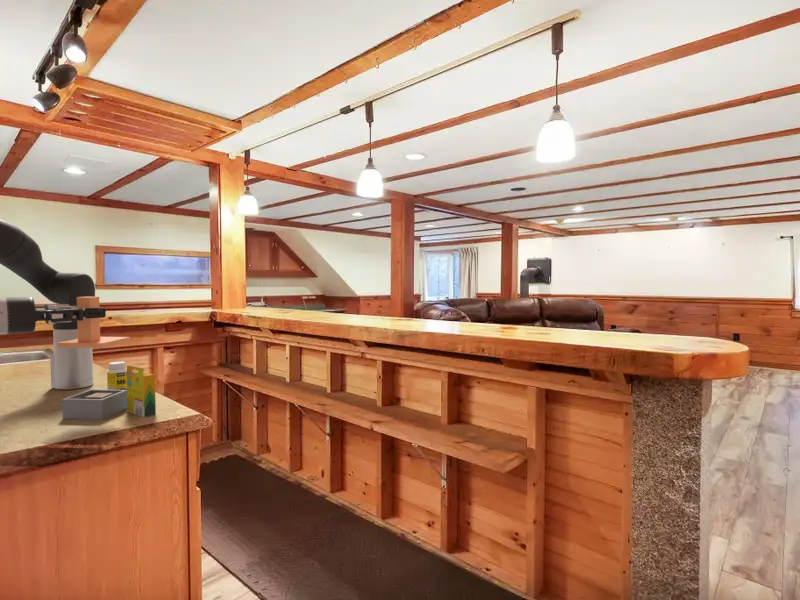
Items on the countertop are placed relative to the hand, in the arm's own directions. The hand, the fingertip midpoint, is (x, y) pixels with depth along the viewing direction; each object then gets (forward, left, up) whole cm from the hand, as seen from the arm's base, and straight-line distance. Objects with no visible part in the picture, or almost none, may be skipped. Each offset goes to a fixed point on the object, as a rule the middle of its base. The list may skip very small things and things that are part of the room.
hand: (102, 311), depth 104 cm
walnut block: (-2, +1, -24) cm, 24 cm away
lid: (-2, 0, -8) cm, 8 cm away
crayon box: (+8, +1, -25) cm, 26 cm away
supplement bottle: (-11, +21, -25) cm, 34 cm away
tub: (-2, 0, -24) cm, 24 cm away
